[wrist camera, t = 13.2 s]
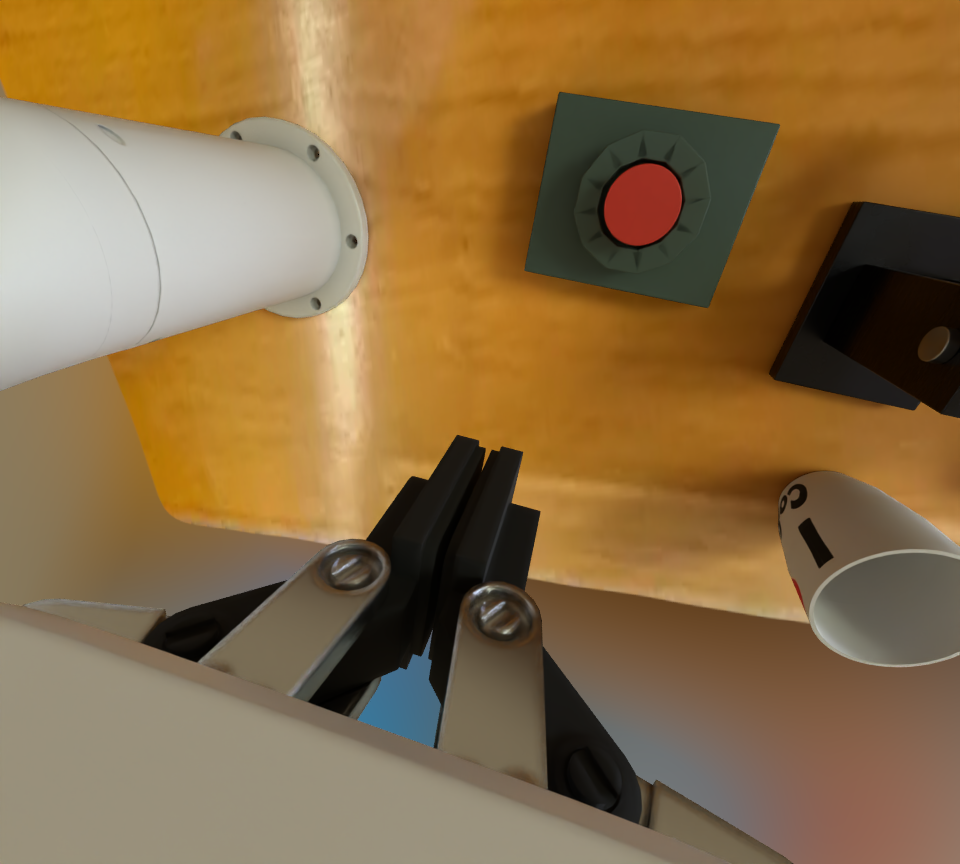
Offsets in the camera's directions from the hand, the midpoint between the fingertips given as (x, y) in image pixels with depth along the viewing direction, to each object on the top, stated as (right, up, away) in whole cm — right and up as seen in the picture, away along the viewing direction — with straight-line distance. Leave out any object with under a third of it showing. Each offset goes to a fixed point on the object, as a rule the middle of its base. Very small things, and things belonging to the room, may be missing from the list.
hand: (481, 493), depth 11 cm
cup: (+24, -3, +21) cm, 32 cm away
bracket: (+23, +9, +15) cm, 29 cm away
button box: (+9, +15, +15) cm, 23 cm away
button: (+8, +13, +12) cm, 20 cm away
